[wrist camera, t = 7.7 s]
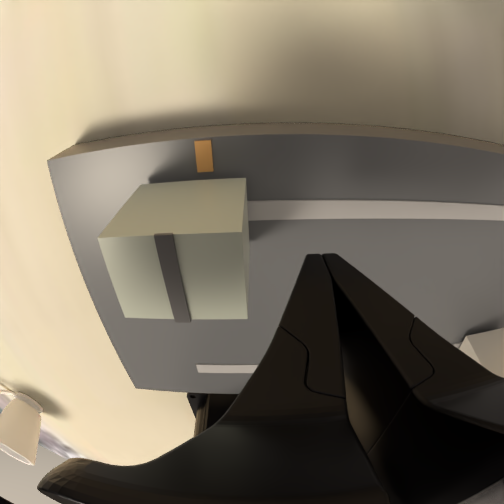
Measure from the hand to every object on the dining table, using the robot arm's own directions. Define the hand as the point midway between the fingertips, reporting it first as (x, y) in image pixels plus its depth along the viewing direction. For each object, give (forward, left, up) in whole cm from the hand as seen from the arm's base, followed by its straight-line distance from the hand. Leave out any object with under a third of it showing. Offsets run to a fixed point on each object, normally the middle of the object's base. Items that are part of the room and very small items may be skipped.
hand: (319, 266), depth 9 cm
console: (-5, -3, -7) cm, 9 cm away
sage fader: (0, +4, -4) cm, 6 cm away
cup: (-25, +33, -7) cm, 41 cm away
